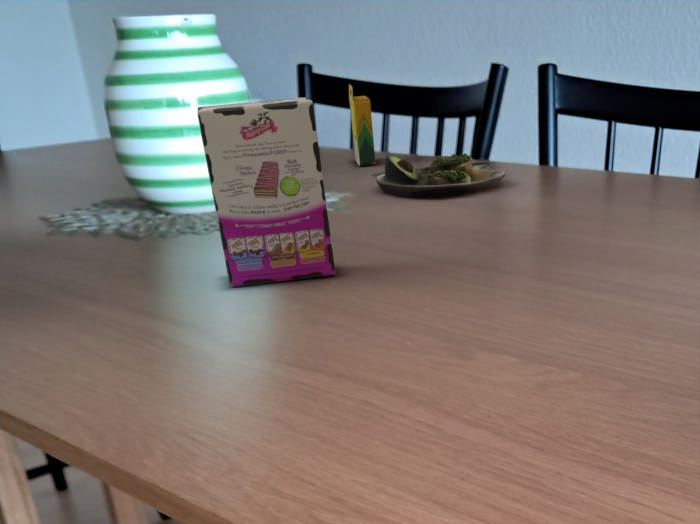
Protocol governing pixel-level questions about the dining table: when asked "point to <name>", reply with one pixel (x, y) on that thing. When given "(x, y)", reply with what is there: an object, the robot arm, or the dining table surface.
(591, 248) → the dining table surface
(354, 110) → the crayon box
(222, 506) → the dining table surface
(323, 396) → the dining table surface
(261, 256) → the candy bar box
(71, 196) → the dining table surface
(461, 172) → the salad plate
